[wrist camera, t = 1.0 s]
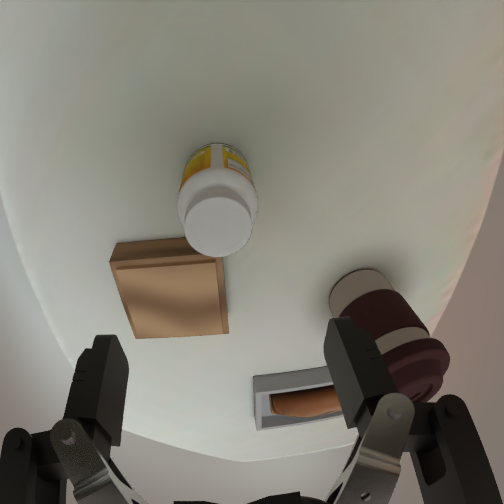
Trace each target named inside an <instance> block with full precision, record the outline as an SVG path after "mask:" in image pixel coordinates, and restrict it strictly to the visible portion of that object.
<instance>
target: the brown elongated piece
mask: <svg viewBox="0 0 504 504" xmlns="http://www.w3.org/2000/svg"><path fill="white" fill-rule="evenodd" d="M269 401H270V410H271V413H272V414H277V415H283V416H293V417H313V416H318V415H323V414H331V413H333V412H337V411H341V410H342V409H341V406H340V403H339V400H338V396H337V393H336V390H335V387H334V384H333V385H327V386H322V387H316V388H310V389H303V390H297V391H290V392H283V393H275V394H269Z"/></svg>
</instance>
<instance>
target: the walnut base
mask: <svg viewBox="0 0 504 504" xmlns="http://www.w3.org/2000/svg"><path fill="white" fill-rule="evenodd" d="M109 263H110V266H111V270H112V273H113V276H114V279H115V282H116V285H117V288H118V291H119V294H120V297H121V300H122V303H123V306H124V309H125V312H126V314H127V317H128V320H129V323H130V325H131V328H132V331H133V333H134V336H135V338H136V339H145V338H168V337H186V336H202V335H215V334H228V333H229V327H228V315H227V304H226V294H225V282H224V271H223V259H222V257H211V256H206V255H204V254H201V253H199V252H198V251H196V250H195V249H194V248H193V247H192V246H191V245H190V244H189V242H188V241H187V239H186V238H174V239H162V240H150V241H139V242H128V243H117V244H116V246H115V248H114V251H113V253H112V256H111V258H110V261H109Z"/></svg>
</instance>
